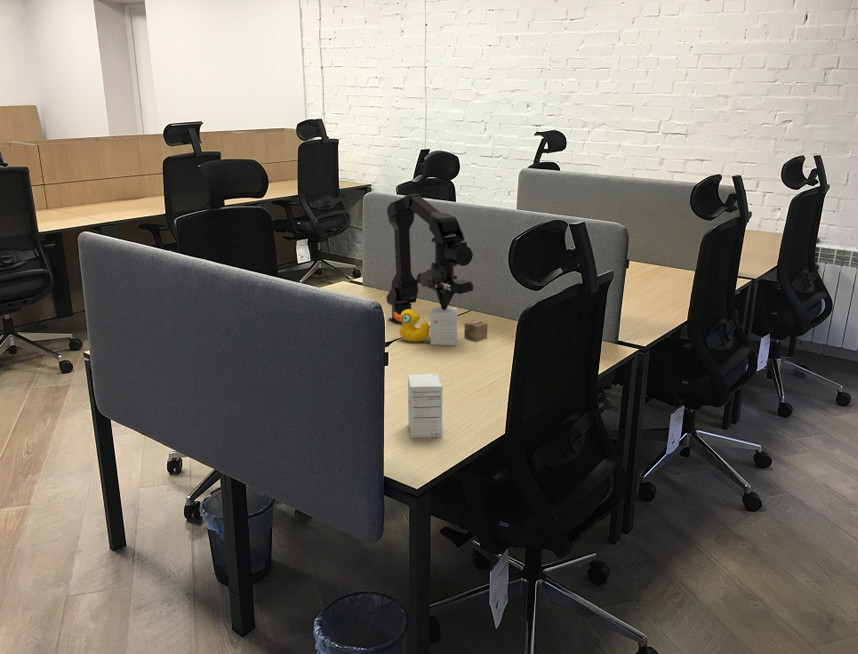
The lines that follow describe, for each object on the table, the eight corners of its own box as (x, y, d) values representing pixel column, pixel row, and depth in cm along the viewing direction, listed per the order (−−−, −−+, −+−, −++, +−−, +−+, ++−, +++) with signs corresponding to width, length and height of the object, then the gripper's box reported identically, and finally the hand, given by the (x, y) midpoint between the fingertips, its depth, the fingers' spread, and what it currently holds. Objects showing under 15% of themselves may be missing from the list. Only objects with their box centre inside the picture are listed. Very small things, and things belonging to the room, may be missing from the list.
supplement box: (407, 424, 175) (407, 374, 171) (439, 423, 176) (439, 373, 172) (409, 438, 168) (409, 386, 164) (442, 437, 169) (443, 385, 165)
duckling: (391, 342, 230) (390, 310, 226) (396, 336, 234) (396, 306, 231) (426, 345, 227) (426, 313, 224) (431, 339, 232) (431, 308, 228)
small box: (457, 339, 232) (458, 307, 228) (456, 345, 226) (456, 312, 223) (431, 338, 232) (431, 306, 229) (430, 344, 227) (430, 311, 224)
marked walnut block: (463, 338, 233) (464, 321, 232) (474, 334, 237) (475, 318, 235) (476, 342, 230) (476, 325, 228) (487, 338, 233) (487, 322, 232)
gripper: (403, 258, 222) (403, 308, 227) (447, 269, 210) (447, 322, 214) (430, 252, 230) (430, 301, 235) (474, 262, 217) (473, 314, 222)
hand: (444, 309), depth 226 cm, fingers closed, pressing on small box
